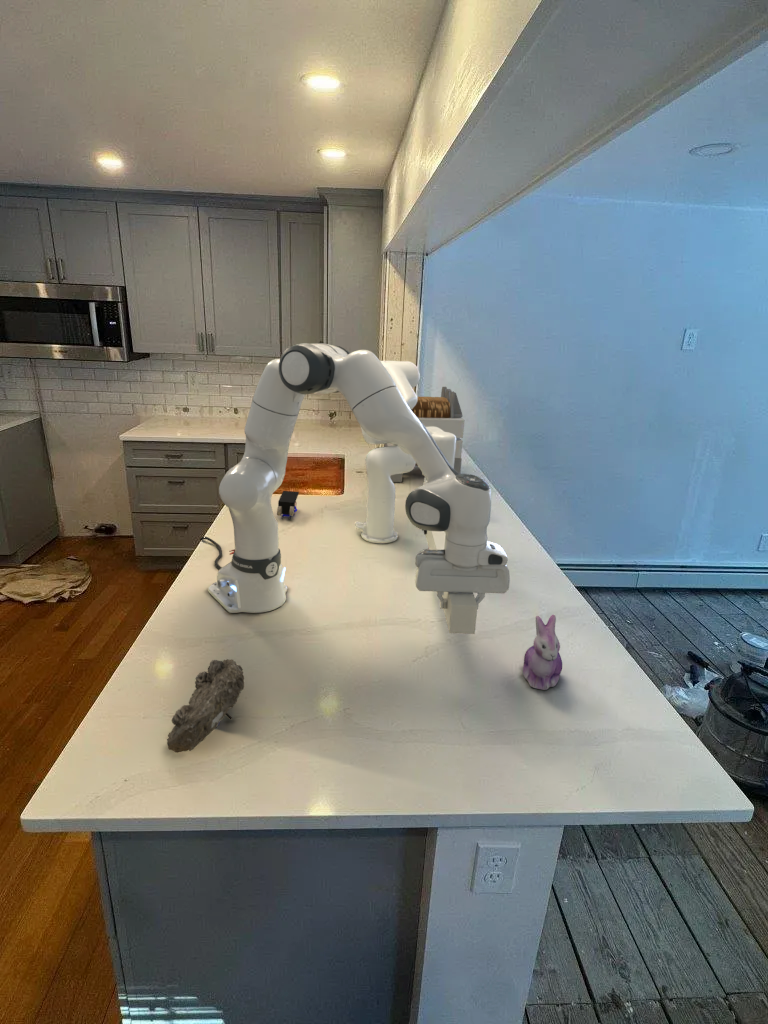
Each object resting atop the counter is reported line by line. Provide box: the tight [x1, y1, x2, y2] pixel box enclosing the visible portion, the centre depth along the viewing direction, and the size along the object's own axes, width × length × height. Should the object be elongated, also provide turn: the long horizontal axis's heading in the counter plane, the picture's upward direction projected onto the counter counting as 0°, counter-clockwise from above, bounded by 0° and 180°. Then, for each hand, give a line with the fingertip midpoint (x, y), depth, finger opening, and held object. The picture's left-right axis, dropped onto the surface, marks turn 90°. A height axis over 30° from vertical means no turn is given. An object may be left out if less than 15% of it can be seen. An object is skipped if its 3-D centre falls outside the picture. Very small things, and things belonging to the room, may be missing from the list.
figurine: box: [522, 614, 563, 691], centre depth 121 cm, size 9×10×15 cm
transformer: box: [383, 386, 465, 483], centre depth 268 cm, size 34×33×41 cm
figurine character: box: [276, 490, 300, 521], centre depth 211 cm, size 7×8×15 cm
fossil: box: [166, 658, 245, 754], centre depth 106 cm, size 22×10×15 cm
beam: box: [424, 531, 479, 635], centre depth 147 cm, size 60×5×7 cm, turn 1°
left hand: (458, 607), depth 125 cm, fingers closed on beam, 5 cm apart
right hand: (435, 532), depth 170 cm, fingers closed on beam, 5 cm apart
